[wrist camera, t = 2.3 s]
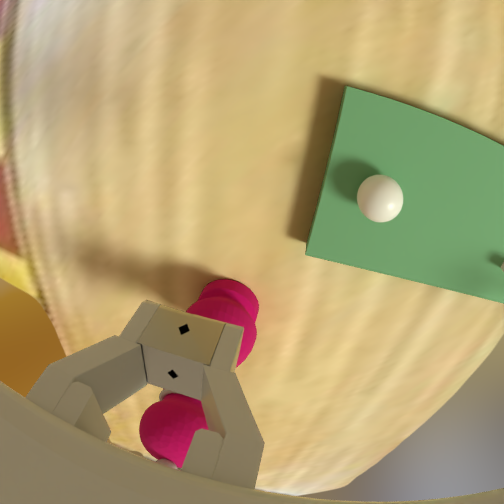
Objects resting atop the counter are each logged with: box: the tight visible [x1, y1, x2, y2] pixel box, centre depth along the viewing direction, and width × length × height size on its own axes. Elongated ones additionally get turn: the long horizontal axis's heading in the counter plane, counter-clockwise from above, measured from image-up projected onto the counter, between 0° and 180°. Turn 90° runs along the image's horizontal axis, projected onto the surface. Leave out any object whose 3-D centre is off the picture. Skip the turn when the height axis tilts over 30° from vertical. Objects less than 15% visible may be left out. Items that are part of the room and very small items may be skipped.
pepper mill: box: [139, 279, 259, 469], centre depth 26 cm, size 7×7×20 cm
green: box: [305, 86, 504, 303], centre depth 18 cm, size 16×28×14 cm, turn 82°
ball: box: [357, 175, 403, 222], centre depth 21 cm, size 3×3×3 cm
